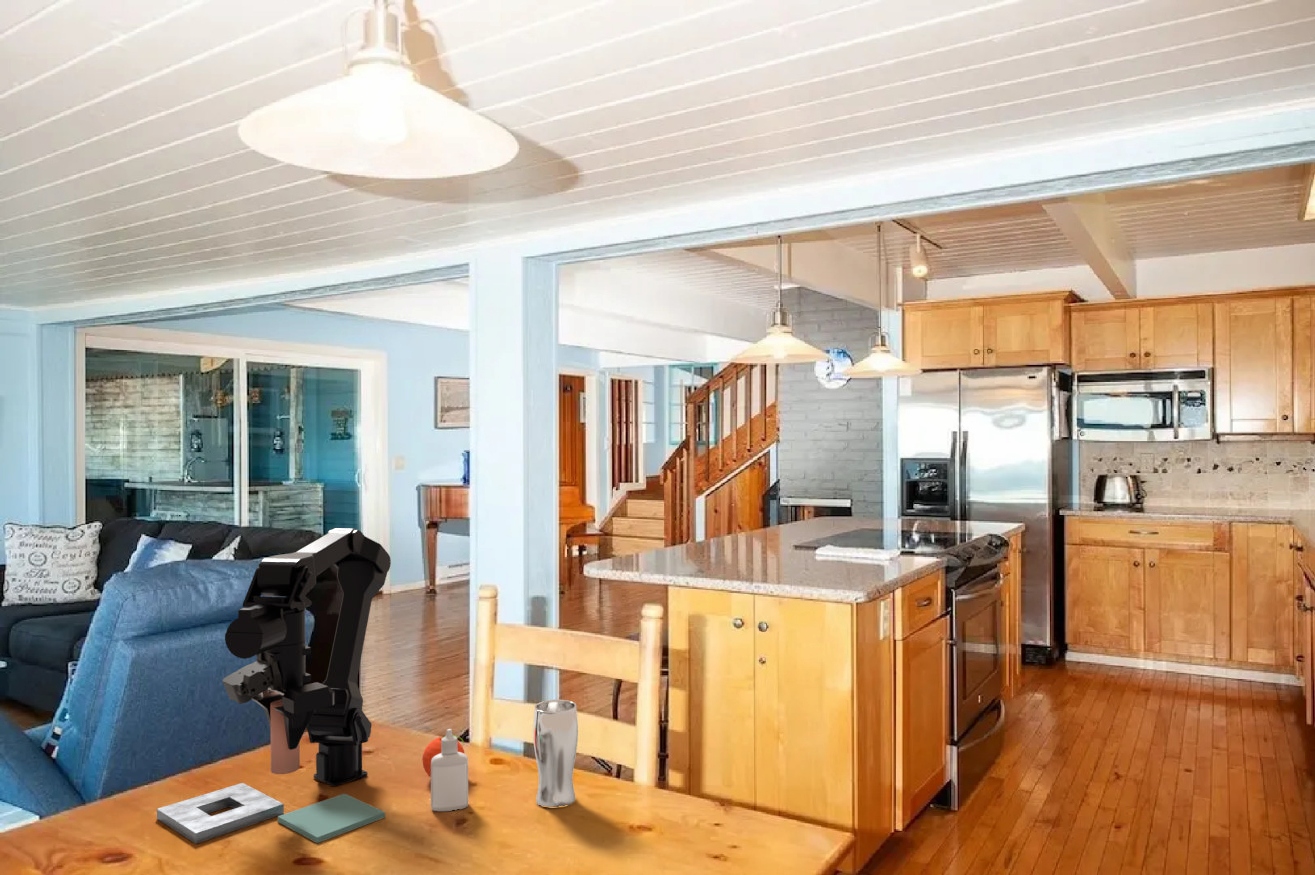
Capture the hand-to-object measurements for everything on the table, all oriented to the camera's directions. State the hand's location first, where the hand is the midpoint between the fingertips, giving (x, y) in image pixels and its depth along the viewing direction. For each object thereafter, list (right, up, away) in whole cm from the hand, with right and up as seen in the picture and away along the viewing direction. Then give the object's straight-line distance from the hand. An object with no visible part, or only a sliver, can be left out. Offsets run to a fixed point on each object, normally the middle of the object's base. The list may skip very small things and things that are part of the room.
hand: (285, 745), depth 137 cm
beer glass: (+40, -11, +6) cm, 42 cm away
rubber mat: (+7, -11, 0) cm, 13 cm away
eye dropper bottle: (+24, -11, +4) cm, 26 cm away
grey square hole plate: (-10, -11, +1) cm, 15 cm away
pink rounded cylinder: (0, -4, 0) cm, 4 cm away
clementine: (+20, -11, +16) cm, 28 cm away
